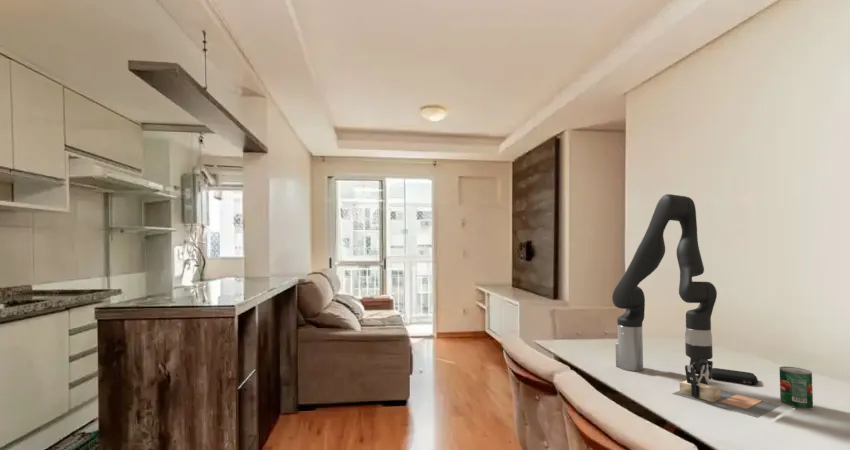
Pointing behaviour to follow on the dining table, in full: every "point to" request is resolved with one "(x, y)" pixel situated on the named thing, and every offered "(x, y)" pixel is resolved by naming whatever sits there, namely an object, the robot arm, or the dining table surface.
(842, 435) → the dining table surface
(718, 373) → the carrying case or bag
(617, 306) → the robot arm
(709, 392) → the block
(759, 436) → the dining table surface
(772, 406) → the mat
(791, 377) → the canned tomato
